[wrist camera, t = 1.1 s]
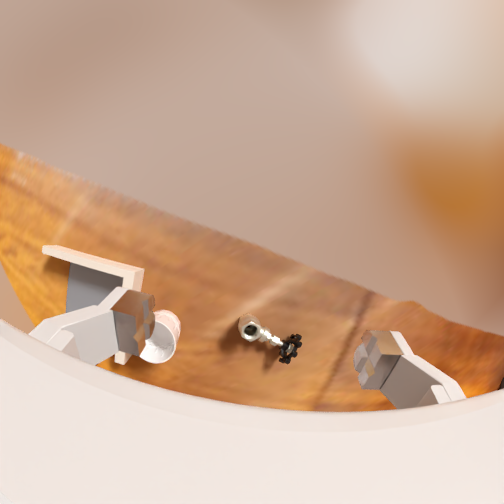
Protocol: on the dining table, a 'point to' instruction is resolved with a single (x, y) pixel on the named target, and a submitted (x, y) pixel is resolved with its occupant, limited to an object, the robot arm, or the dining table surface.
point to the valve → (268, 337)
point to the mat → (89, 287)
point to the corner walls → (130, 273)
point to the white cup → (162, 338)
